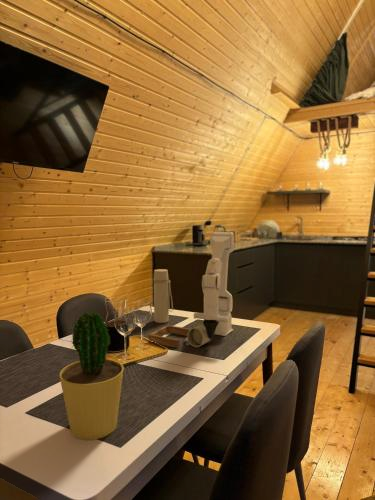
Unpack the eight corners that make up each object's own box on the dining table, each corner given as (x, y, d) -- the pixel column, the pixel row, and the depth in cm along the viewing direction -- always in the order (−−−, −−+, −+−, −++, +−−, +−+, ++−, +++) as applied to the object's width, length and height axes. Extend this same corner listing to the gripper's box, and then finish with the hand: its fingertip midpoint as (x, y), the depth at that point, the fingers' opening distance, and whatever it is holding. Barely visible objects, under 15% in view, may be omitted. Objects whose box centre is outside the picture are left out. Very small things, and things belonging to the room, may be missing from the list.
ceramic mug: (213, 342, 156) (213, 324, 155) (203, 349, 149) (202, 329, 148) (192, 338, 162) (191, 320, 161) (180, 344, 155) (180, 325, 154)
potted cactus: (132, 412, 103) (130, 303, 100) (112, 448, 88) (108, 320, 85) (78, 408, 106) (74, 301, 102) (50, 441, 91) (44, 317, 87)
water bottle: (152, 323, 183) (151, 271, 180) (156, 318, 190) (155, 268, 188) (171, 324, 181) (170, 271, 178) (174, 319, 189) (173, 269, 186)
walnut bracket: (167, 331, 171) (167, 325, 170) (195, 336, 164) (195, 329, 164) (148, 342, 158) (148, 334, 157) (177, 347, 151) (177, 340, 150)
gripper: (189, 304, 150) (190, 338, 152) (224, 309, 143) (223, 344, 145) (198, 300, 156) (198, 333, 158) (231, 304, 149) (231, 338, 151)
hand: (211, 338), depth 152 cm, fingers closed
